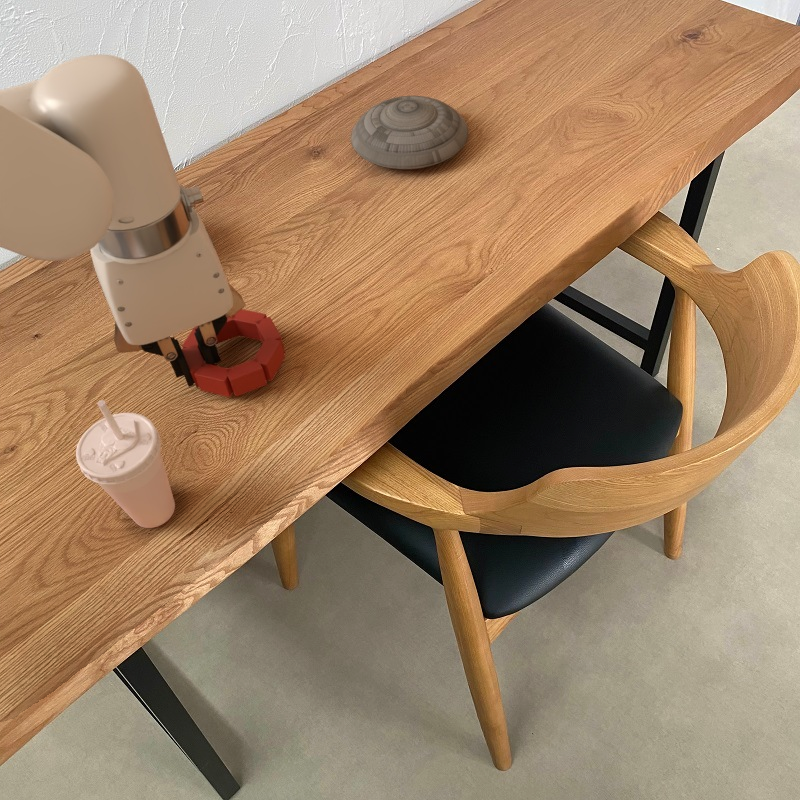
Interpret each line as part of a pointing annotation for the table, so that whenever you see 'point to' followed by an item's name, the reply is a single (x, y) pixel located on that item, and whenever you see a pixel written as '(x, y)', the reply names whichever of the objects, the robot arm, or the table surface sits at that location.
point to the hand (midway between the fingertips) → (199, 371)
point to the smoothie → (128, 465)
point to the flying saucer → (409, 133)
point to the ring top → (245, 373)
